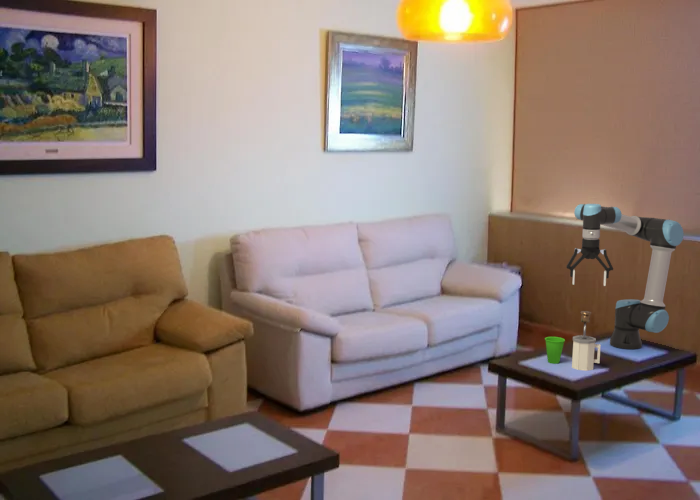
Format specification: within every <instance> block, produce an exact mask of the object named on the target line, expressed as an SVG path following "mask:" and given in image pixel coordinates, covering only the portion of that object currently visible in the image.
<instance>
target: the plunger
mask: <svg viewBox="0 0 700 500" xmlns="http://www.w3.org/2000/svg"><path fill="white" fill-rule="evenodd" d="M580 314H581V320H580V322H581V323H583V334H582V336H583V339H585V337H586V336H587V323H590V321H591V319H590V317H591V315H592V312H591V311H588V310H581V311H580Z"/></svg>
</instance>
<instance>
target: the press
mask: <svg viewBox="0 0 700 500" xmlns="http://www.w3.org/2000/svg"><path fill="white" fill-rule="evenodd" d="M572 341H573V343H572V357H571V369H574V370H577V371H586V372H587V371H592V370H594V363H595V364H600V358H601V344H600V343H596V342H597V340H596V337H593V336H589V335H586V337H585V339H583V335H582V334H581V335H573V336H572ZM595 348H596V349H597V356H596V358H595Z"/></svg>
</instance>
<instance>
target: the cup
mask: <svg viewBox="0 0 700 500" xmlns="http://www.w3.org/2000/svg"><path fill="white" fill-rule="evenodd" d="M544 341H545V348H546V355H547V356H546V357H547V359H546V360H547V363H549V364H550V365H551V364H552V365H556V364H557V365H558V364H559V363H560V360H561V358H562V357H561V356H562V354H563V353H562V352H563V349H564V344H565V342H566V340H565V338H563V337H558V336H547V337H544Z"/></svg>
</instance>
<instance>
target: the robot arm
mask: <svg viewBox="0 0 700 500" xmlns="http://www.w3.org/2000/svg"><path fill="white" fill-rule="evenodd" d="M573 213H574V216H575V217H574V218H576V219H577V220H580V221H582V240H581V249H580V248H577V247H575V248H574V250H573V251H574V252H573V254H572V256H571V257H570V259H569V261H568V263H567V264H566V269H568V270H570V271H569V273H570V274H569V275H570V278H572V283H571V284H572V285H574V286H575V276H576V275H575V274H576V271H575V270H576V269H575V268H576V267H577V266H579V264H580V263H581V262H582V261H583V260H585V259H586V260H590V259H591V260H595V259H596V261H598V263H599V264H600V265H601V266H602V267H603V269H604V271H603V287H606V284H607V279H609V274H610V272H611V271H614V268H613V264H612V263H611V261H610V258H609V256H608V252H607V249H606V248H604V249H600V243H601V241H600V238H601V226H605V227H608V228H612V229H615V230H618V231H622V232H626V234H627V235H629V236H632V237H636V238H637V239H640V240H643V241H645V242H650V244H649V246H650V249H652V251H651V257H650V263H649V268H648V275H647V279H646V285H645V292H644V297H643V299H641V300H640V299H630V298H629V299H627V298H626V299H620V300H617V301H616V303H615V309H614V310H615V312H614V327H613V332H612V334H611V337H610V339H609V345H610V346H612V347H614V348H618V349H624V350H638V349H641V348H642V347H643V345H642V344H643V341H642V340H641V336H640V335H641V334H640V330H644V331H646V332H647V333H656V334H658V333H660V332H662V331H663V330H664V329H665V328H667V325H668V323H669V319H670V316H669V313H668V312H667V310H666V304H665V303H664V296H665V291H666V286H667V285H666V284H667V280H668V274H669V268H670V263H671V257H672V253H673V252H674V251H675V250H676V249H677V247H678V246H679V245H681V244H682V242H683V240H684V228H683V226H682V225H681V223H679V222H678V221H677V220H676V221H675V220H672V219H666V218H658V217H656V218H655V217H645V216H643V217H642V216H637V215H631V216H629V215H626V214H622V211H621V209H620V208H619V207H618V206H602V205H601V204H599V203H586V204H585V203H584V204H583V203H580V204H578V205H576V207H575V208H574V211H573ZM580 253H581V255H580V256H579V258H578V259H577V260H576V261H575V262H574V260H575V259H576V257H577V255H578V254H580ZM600 253H601V254H602V256H603V257H604V258H605V259H604V260H605V261H606V262H607V265H606V264H605V263H604V261H603V260H602V259H601V257H600V256H599V255H600ZM573 262H574V263H573Z"/></svg>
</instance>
